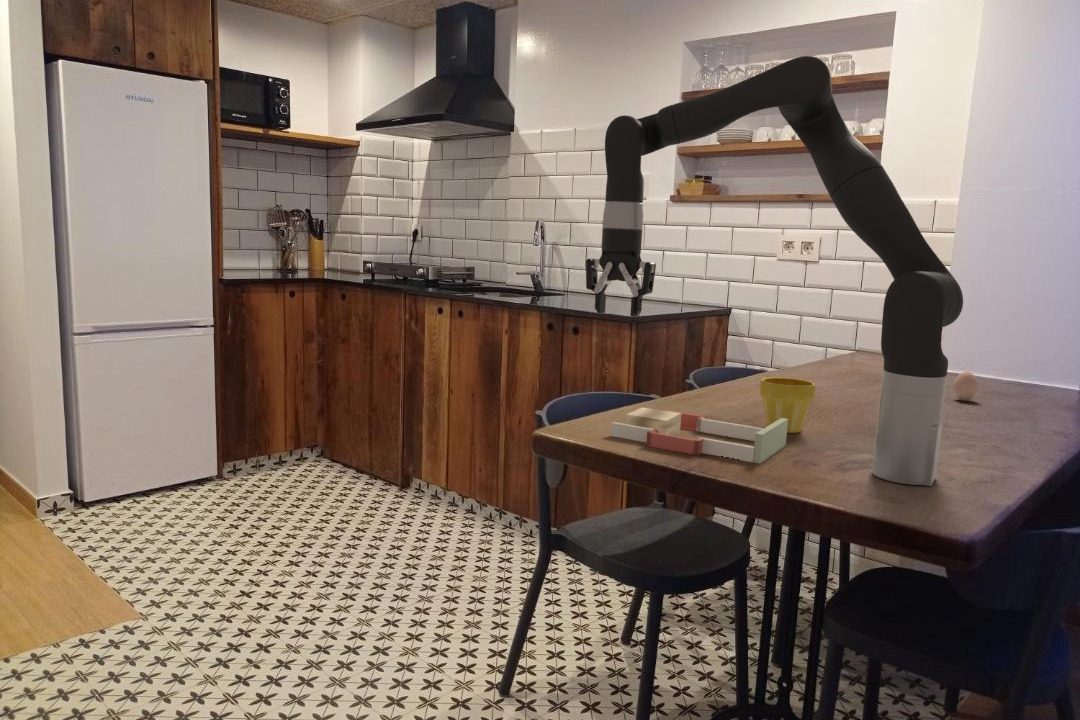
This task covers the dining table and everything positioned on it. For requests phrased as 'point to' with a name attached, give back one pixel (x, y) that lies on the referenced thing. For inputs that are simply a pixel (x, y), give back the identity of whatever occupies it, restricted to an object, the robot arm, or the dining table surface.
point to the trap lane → (764, 438)
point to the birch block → (655, 420)
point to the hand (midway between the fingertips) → (617, 314)
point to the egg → (965, 386)
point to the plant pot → (787, 400)
